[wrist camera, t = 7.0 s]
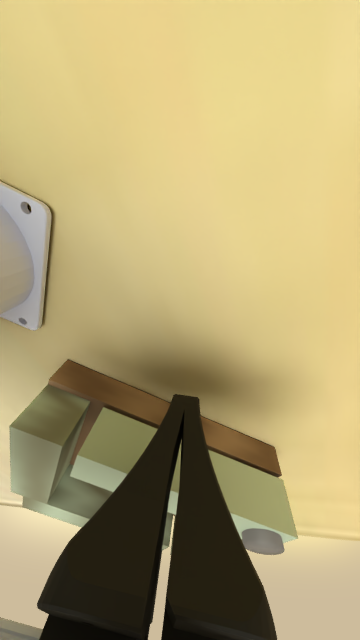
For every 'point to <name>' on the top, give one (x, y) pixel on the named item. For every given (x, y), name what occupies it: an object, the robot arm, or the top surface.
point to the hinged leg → (233, 477)
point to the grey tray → (72, 430)
